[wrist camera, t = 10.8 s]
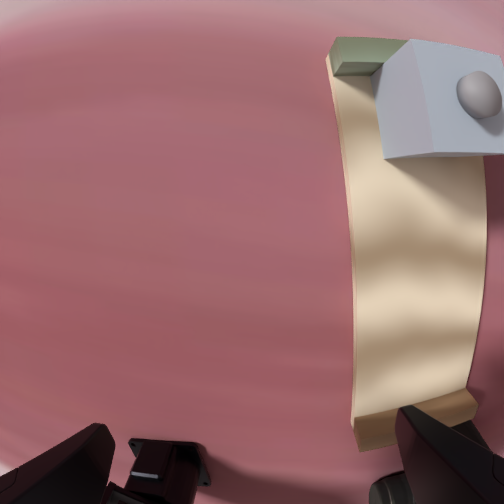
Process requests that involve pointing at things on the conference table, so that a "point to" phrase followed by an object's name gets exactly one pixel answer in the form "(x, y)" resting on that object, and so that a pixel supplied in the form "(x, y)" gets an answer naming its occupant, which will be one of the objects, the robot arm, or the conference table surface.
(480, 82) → the block
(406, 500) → the camera
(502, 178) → the conference table surface
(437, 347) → the track
